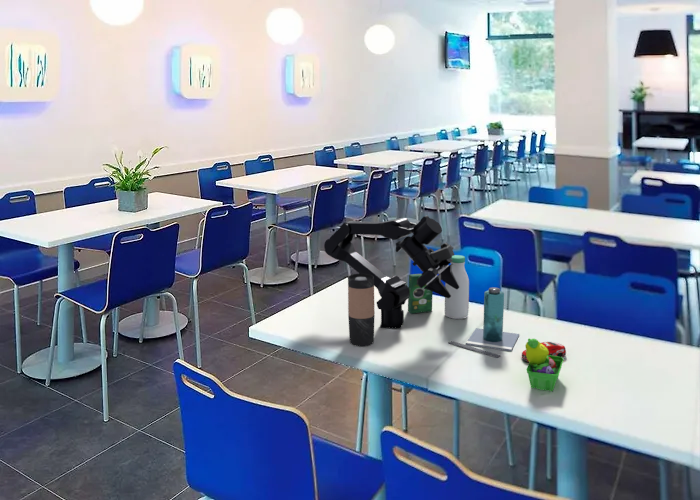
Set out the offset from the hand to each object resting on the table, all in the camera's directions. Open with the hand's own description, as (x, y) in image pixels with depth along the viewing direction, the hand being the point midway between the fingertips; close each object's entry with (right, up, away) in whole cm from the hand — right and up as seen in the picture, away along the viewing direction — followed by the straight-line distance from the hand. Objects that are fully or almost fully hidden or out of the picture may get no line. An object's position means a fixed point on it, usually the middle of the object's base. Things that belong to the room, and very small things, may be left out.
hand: (454, 292), depth 181 cm
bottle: (+11, -13, 0) cm, 18 cm away
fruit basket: (+17, -21, -27) cm, 38 cm away
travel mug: (-27, -15, 0) cm, 31 cm away
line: (+4, -16, -7) cm, 18 cm away
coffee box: (-7, -8, +25) cm, 27 cm away
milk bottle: (+4, -9, +21) cm, 23 cm away
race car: (+22, -17, -13) cm, 31 cm away
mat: (+11, -14, 0) cm, 18 cm away
